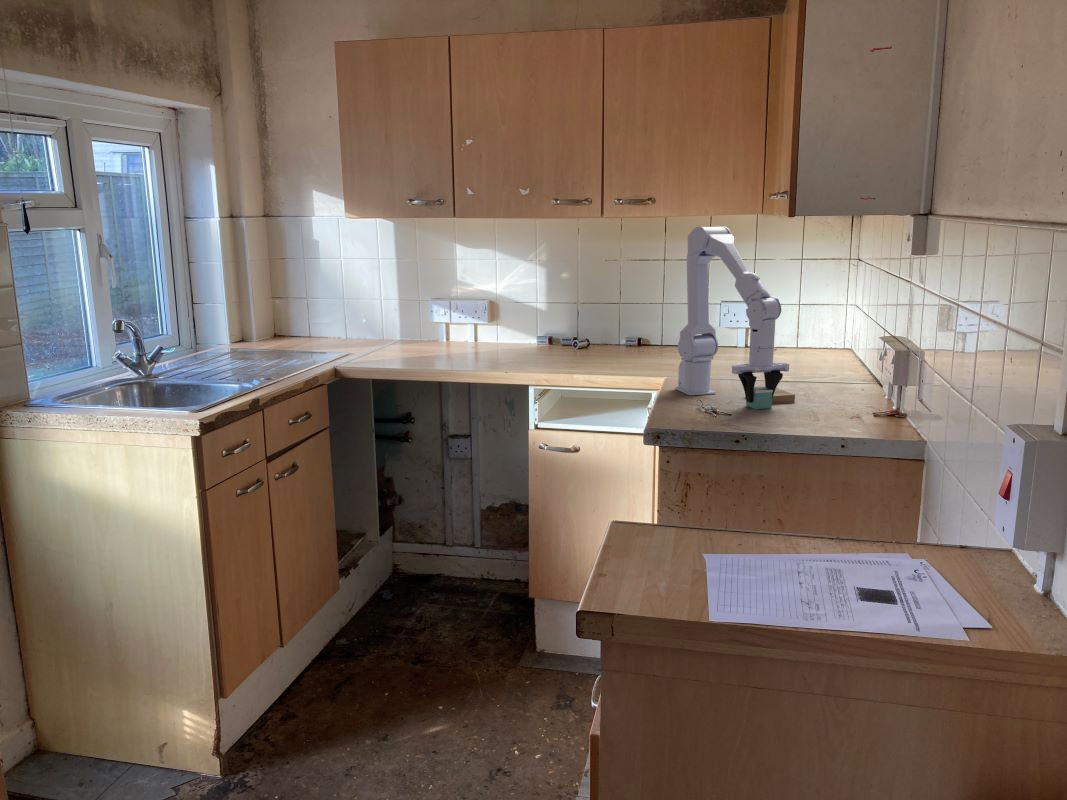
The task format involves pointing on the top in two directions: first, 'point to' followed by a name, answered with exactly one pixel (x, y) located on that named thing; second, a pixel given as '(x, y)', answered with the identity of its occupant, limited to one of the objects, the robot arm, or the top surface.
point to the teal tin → (761, 398)
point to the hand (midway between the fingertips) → (758, 401)
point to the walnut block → (782, 397)
